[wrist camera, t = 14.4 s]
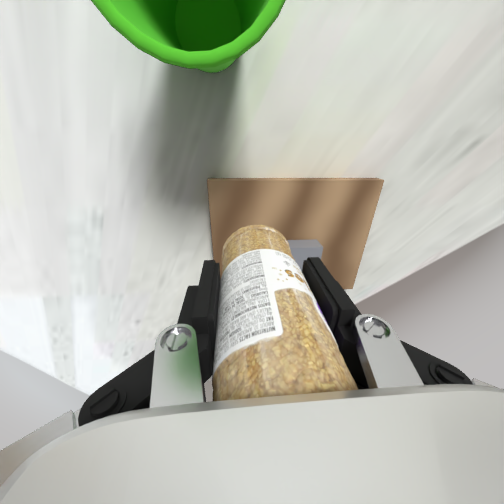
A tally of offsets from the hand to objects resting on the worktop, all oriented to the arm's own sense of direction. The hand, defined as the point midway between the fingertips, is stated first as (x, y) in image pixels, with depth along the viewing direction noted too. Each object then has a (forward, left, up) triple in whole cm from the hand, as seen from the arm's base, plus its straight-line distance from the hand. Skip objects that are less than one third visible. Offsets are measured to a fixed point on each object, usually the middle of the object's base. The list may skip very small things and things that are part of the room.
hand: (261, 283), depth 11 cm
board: (-5, +4, -14) cm, 15 cm away
